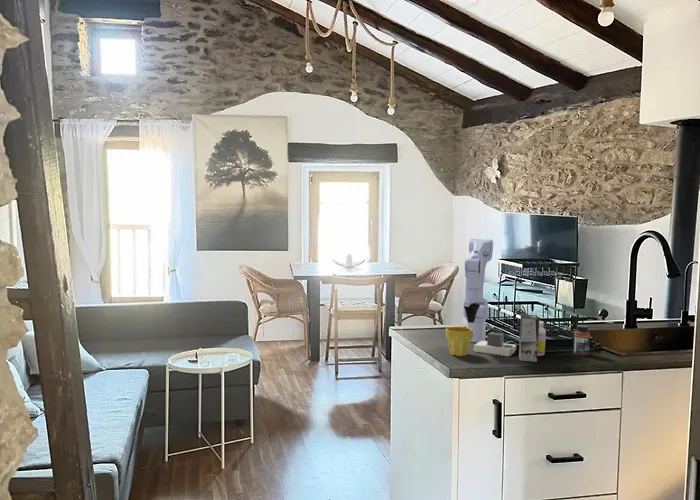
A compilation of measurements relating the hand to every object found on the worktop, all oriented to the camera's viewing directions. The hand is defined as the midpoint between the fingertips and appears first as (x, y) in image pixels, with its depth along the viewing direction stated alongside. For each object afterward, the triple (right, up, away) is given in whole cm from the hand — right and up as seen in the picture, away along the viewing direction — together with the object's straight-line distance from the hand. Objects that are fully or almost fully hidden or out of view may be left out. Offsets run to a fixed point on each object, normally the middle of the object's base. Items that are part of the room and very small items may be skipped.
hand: (471, 322), depth 265 cm
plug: (+9, -10, -4) cm, 14 cm away
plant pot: (-7, -11, -10) cm, 16 cm away
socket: (+9, -11, -4) cm, 14 cm away
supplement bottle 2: (+42, -12, -5) cm, 44 cm away
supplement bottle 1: (+24, -12, -7) cm, 28 cm away
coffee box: (+19, -12, -14) cm, 27 cm away
